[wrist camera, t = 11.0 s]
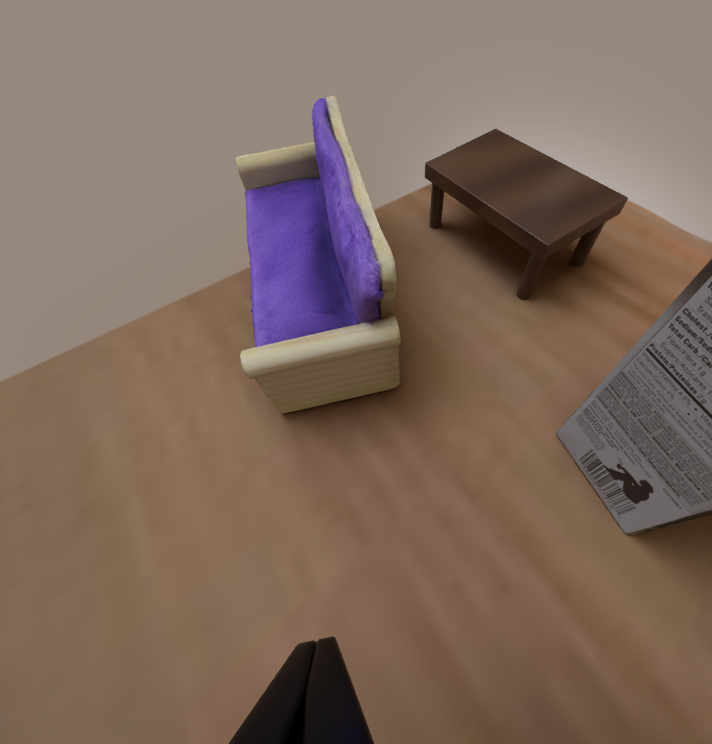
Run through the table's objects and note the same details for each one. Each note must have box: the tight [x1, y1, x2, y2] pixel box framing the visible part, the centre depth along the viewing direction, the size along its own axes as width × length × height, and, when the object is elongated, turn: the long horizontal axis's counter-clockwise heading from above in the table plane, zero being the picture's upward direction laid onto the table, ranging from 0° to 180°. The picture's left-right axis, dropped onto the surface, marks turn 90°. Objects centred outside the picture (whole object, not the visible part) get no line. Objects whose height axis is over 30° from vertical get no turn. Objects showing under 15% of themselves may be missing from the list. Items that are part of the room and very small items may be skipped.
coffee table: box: [425, 129, 628, 299], centre depth 29 cm, size 12×7×6 cm, turn 32°
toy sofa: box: [236, 96, 401, 413], centre depth 26 cm, size 21×9×10 cm, turn 11°
